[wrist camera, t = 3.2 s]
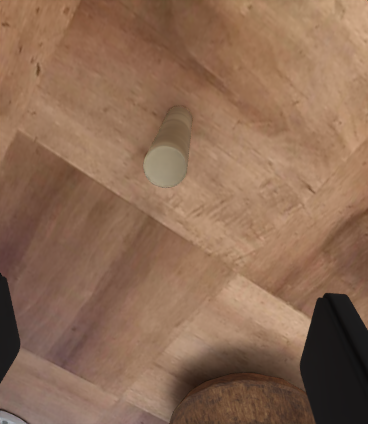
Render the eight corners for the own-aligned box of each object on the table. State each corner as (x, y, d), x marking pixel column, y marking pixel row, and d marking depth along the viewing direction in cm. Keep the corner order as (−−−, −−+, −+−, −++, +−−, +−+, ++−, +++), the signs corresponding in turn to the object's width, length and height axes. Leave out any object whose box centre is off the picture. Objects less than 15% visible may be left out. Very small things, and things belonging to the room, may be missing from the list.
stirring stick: (165, 131, 32) (143, 187, 19) (166, 104, 31) (142, 144, 18) (191, 133, 32) (186, 189, 19) (193, 106, 31) (188, 147, 18)
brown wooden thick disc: (319, 341, 42) (334, 376, 38) (314, 452, 51) (325, 491, 47) (159, 351, 44) (154, 386, 39) (182, 456, 53) (180, 495, 49)
